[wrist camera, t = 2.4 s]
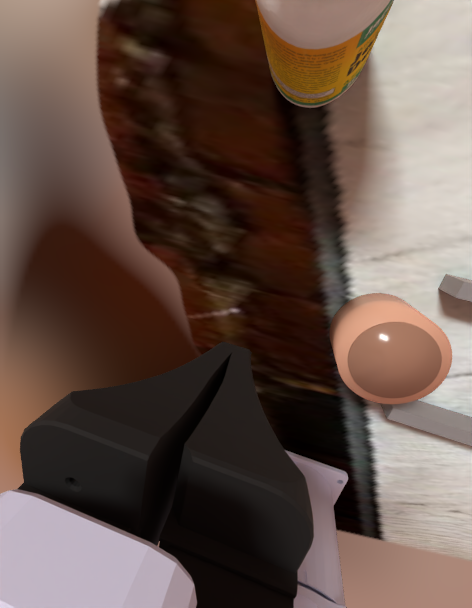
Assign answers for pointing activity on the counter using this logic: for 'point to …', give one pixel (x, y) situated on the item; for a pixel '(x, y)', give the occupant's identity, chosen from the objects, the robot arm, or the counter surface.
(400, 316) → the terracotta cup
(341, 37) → the supplement bottle
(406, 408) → the holder
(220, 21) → the counter surface
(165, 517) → the robot arm
